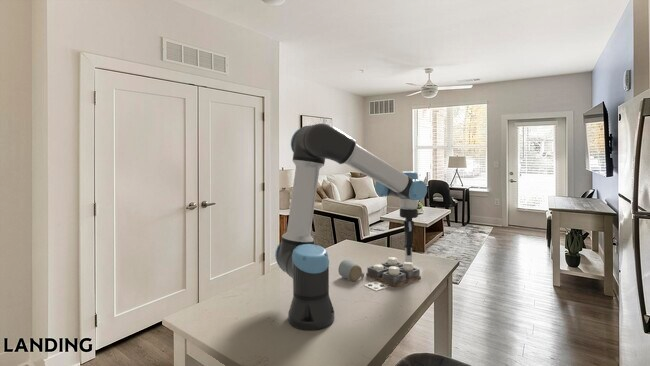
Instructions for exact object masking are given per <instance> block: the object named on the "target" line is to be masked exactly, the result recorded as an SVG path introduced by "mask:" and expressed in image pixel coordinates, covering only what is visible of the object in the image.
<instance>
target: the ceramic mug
mask: <svg viewBox="0 0 650 366" xmlns="http://www.w3.org/2000/svg"><path fill="white" fill-rule="evenodd" d="M338 275H339V276H341V277H342V278H344V279H346V280H349V281H351V282H356V281H358V280H359V279H360V278H364V277H365V273H364V272H363V270H362V267H361V266H360V265H358V264H357V263H355V262H354V261H352V260H350V259H343V260H342V261H341V262H340V263H339V265H338Z"/></svg>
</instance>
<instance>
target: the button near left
mask: <svg viewBox="0 0 650 366" xmlns="http://www.w3.org/2000/svg"><path fill="white" fill-rule="evenodd" d="M372 266H373V269H375V270H378V271H379V270H382V269H384V266H383V265H382V264H379V263H378V264H374V265H372Z"/></svg>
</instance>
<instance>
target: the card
mask: <svg viewBox="0 0 650 366" xmlns="http://www.w3.org/2000/svg"><path fill="white" fill-rule="evenodd" d="M363 286H364V287H366V288H368V289H370V290H372V291H374V292H378V291H381V290H383V289H386V288H389V285H387V284H385V283H383V282H380V281H378V280H375V281H372V282H369V283H365V284H363Z"/></svg>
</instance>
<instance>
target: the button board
mask: <svg viewBox="0 0 650 366" xmlns="http://www.w3.org/2000/svg"><path fill="white" fill-rule="evenodd" d="M381 265H383V266H384V269H382V270H379V271H378V270H375V269H373V265H371V266H368V267H367V269H366V270H367V271H366V277H367V278H371V279H373V280H375V281H377V282H380V283H382V284H385V285H387V286H391V287H392V288H395V289H396V288H399V287H403V286H405V285H407V284H411V283H412V282H416V281H419V280H421V278H422V275H420V270H421V269H420V268H417V267H414V266H413V271H410V272H408V271H405V270H403V262H402V263H401V262H398V261H397V265H395V267H399V268H400V270H399V275H398V276H395V277H394V276H391V275H389V267H391V265H388V264H387V261H385V262H381Z"/></svg>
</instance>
